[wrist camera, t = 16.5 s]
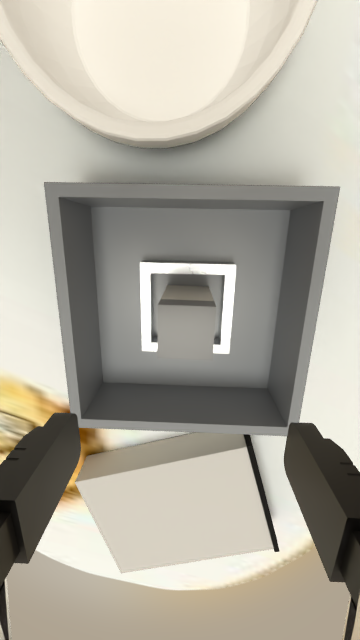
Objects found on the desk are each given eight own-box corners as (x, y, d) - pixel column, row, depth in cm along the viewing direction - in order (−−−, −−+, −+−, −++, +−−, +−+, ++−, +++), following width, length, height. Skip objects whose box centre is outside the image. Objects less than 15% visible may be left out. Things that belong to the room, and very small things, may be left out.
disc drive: (269, 514, 41) (280, 551, 36) (128, 539, 43) (121, 576, 38) (244, 417, 36) (253, 445, 31) (87, 451, 38) (73, 482, 34)
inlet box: (83, 197, 28) (43, 182, 20) (298, 200, 27) (340, 186, 20) (98, 385, 35) (72, 427, 27) (272, 391, 34) (296, 436, 26)
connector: (167, 285, 29) (157, 304, 21) (208, 286, 29) (216, 306, 21) (166, 324, 31) (157, 358, 22) (206, 326, 31) (212, 360, 22)
